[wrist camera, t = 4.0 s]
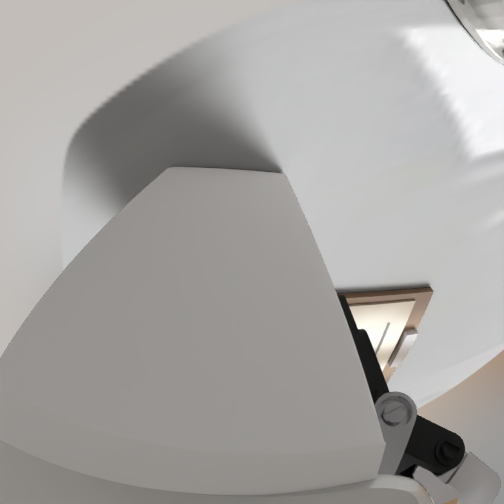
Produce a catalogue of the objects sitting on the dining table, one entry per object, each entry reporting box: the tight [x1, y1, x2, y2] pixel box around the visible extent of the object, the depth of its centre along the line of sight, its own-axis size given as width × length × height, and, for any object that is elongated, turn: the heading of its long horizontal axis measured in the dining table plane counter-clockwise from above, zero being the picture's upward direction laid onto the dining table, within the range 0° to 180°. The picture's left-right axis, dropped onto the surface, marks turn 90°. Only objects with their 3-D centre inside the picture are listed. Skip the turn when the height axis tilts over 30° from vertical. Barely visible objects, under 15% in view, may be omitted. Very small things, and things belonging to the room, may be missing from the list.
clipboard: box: [337, 287, 434, 383], centre depth 24 cm, size 14×15×1 cm
